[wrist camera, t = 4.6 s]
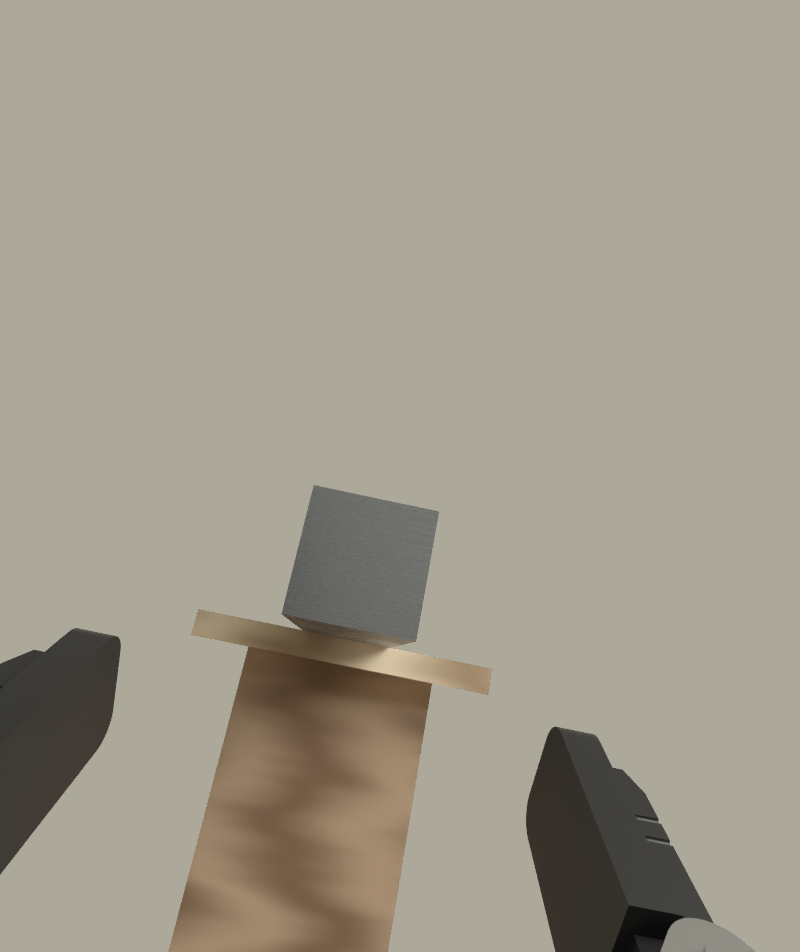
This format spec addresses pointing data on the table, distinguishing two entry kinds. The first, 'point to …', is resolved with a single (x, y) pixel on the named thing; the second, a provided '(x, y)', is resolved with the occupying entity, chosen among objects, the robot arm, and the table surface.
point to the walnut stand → (310, 792)
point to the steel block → (361, 568)
